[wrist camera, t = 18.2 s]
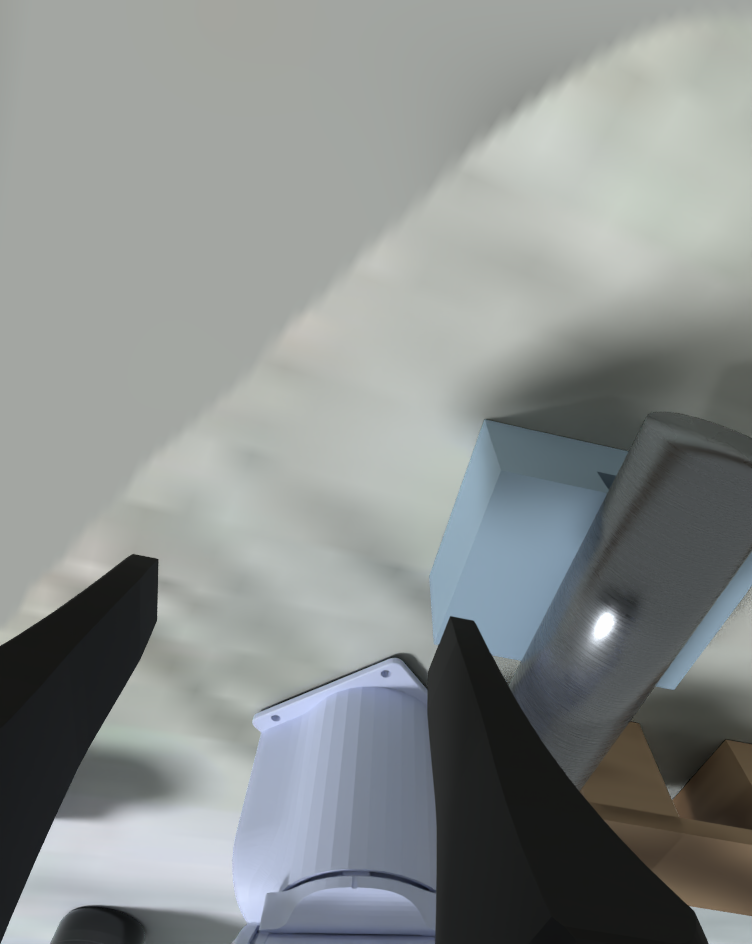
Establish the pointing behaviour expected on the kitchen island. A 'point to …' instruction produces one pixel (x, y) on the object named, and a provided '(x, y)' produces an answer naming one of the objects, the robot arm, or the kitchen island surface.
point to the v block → (534, 539)
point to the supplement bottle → (98, 928)
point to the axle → (637, 586)
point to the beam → (682, 820)
